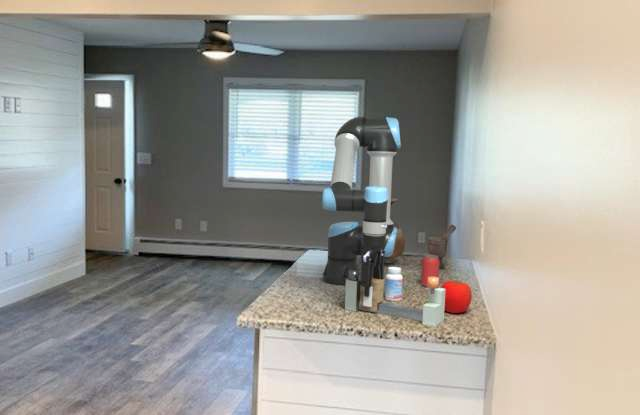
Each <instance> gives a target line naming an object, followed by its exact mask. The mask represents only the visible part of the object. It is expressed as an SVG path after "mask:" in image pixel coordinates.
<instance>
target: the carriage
mask: <svg viewBox="0 0 640 415" xmlns="http://www.w3.org/2000/svg"><path fill="white" fill-rule="evenodd" d="M384 281H385V280H384V279H383V280H382V279H375V278H373V277H372V284H371V287H372V307H368V306H363V297H364V286H361V288H360V307H359V309H364V310H370V311H375V312H377V304H378V303H380V302H383V303H384V290H385V285H384V284H385V282H384Z"/></svg>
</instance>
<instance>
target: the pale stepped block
mask: <svg viewBox="0 0 640 415" xmlns="http://www.w3.org/2000/svg"><path fill="white" fill-rule="evenodd" d="M422 307H423V308H422V309H423V321H421V322H422V325H425V326H430V327H436V326H438V325H439V324H440V323H441V322H443V321H444V320H445V310H444V308H445V289H443V288H441V287H438V288H437V289H435V294H431V288H429V289H428V302H426V303H424V305H423V306H422Z"/></svg>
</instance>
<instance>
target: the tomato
mask: <svg viewBox="0 0 640 415" xmlns="http://www.w3.org/2000/svg"><path fill="white" fill-rule="evenodd" d="M440 286H441V287H440V288H443V289H445V308H444V312H448V313H451V314H459V313H463V312H464V313H465V311H467V310H468V308H470V305H471V302H472V296H473V294H472V290H471V287H470V285H469V284H468V283H465V282H463V281H460V280H459V281H458V280H447V281H444V282H443V283H442V285H440Z"/></svg>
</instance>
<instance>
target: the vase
mask: <svg viewBox="0 0 640 415" xmlns="http://www.w3.org/2000/svg"><path fill="white" fill-rule="evenodd" d="M396 202H399V199H398V198H392V197H391V206H390V209H391V207H392V205H393V204H394V203H396ZM390 219H391V221H392V222H393V223H394V226H393V227H395V228H397V233H396V240H395V245H394V250H393V254H392V255H391V256H390V257H384V264H390V263H391V262H392V261H394V260H395V259H396V258H399V257H401V256H402V255H403V254H404V251H405V245H406V243H405V235H404V233H403V229H402V228H401V226H400V224H398V223H397V222H395V221H394V220H392V217H391V215H390Z"/></svg>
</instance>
